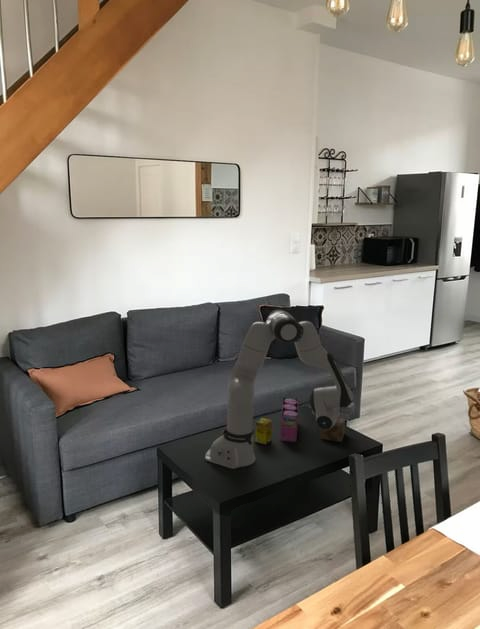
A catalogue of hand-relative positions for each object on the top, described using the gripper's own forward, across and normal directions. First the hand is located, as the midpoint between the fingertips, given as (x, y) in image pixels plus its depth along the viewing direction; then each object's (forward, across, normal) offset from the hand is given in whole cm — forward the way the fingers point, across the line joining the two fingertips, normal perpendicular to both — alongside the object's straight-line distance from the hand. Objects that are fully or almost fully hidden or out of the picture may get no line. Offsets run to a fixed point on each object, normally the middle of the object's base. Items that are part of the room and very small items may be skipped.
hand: (335, 399), depth 249 cm
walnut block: (-1, 0, +19) cm, 19 cm away
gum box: (-4, +22, +19) cm, 29 cm away
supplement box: (-20, +30, +19) cm, 41 cm away
